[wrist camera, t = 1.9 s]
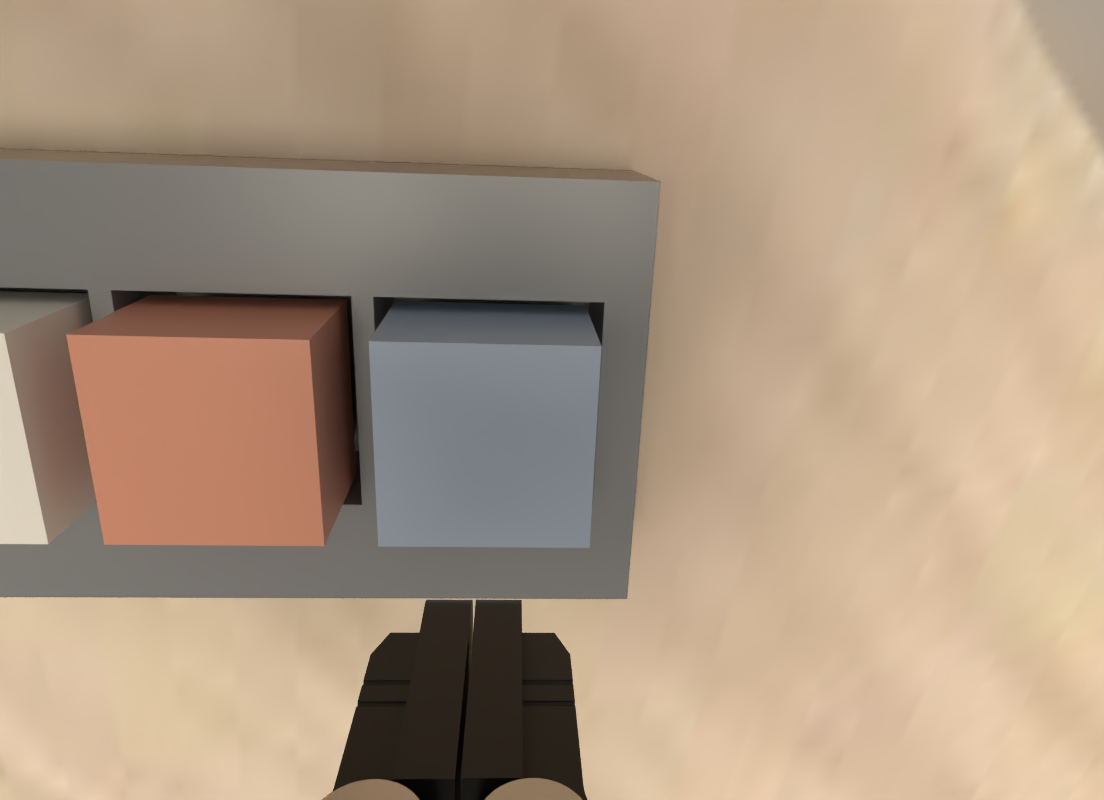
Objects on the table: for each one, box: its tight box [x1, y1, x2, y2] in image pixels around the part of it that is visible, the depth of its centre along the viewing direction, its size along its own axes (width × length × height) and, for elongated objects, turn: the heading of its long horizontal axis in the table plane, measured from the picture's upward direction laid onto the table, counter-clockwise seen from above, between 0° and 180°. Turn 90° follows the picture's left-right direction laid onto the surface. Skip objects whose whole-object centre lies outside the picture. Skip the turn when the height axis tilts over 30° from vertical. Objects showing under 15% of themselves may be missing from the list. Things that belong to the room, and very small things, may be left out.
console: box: [0, 149, 660, 599], centre depth 24 cm, size 23×13×5 cm, turn 88°
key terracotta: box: [66, 295, 356, 546], centre depth 21 cm, size 6×6×4 cm
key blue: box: [369, 301, 602, 548], centre depth 22 cm, size 6×6×4 cm
